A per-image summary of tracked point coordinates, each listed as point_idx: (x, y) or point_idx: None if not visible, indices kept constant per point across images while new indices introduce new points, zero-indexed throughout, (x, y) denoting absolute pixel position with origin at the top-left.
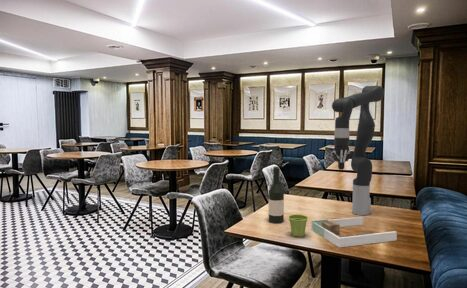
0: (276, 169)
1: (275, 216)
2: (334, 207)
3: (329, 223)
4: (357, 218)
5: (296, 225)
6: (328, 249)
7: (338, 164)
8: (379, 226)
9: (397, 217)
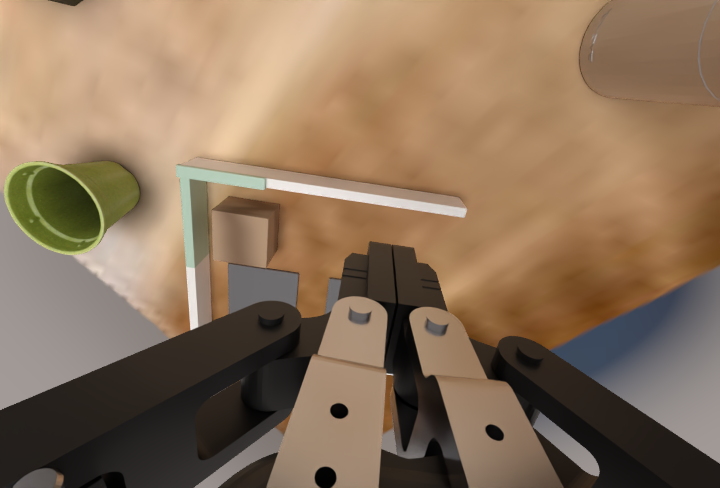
0: None
1: None
2: None
3: (232, 240)
4: (429, 211)
5: (60, 225)
6: (166, 323)
7: (340, 292)
8: (497, 249)
9: (707, 196)
